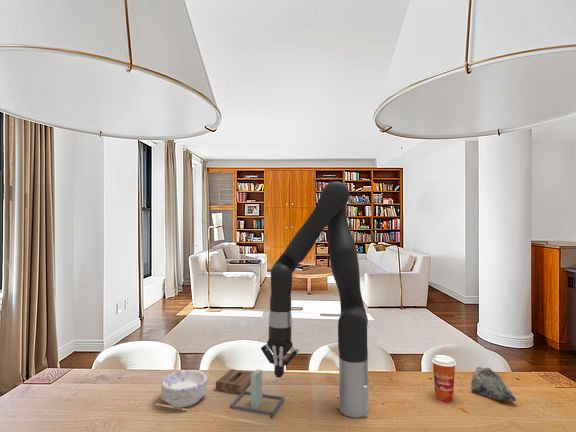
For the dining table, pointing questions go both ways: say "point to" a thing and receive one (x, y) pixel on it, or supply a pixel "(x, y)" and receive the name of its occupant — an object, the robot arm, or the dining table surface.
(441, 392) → the paper cup
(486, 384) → the mineral rock
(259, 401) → the pale green rectangular block
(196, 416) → the dining table surface
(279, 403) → the charcoal tray
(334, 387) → the dining table surface
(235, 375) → the walnut slotted block
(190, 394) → the paper bowls
